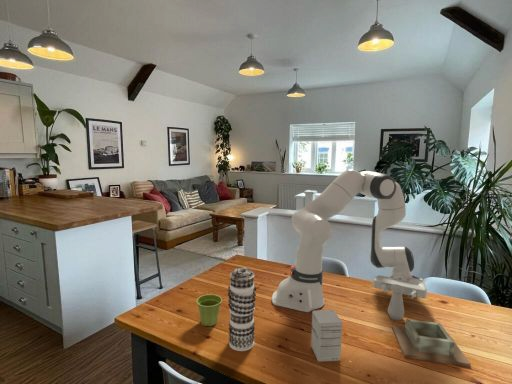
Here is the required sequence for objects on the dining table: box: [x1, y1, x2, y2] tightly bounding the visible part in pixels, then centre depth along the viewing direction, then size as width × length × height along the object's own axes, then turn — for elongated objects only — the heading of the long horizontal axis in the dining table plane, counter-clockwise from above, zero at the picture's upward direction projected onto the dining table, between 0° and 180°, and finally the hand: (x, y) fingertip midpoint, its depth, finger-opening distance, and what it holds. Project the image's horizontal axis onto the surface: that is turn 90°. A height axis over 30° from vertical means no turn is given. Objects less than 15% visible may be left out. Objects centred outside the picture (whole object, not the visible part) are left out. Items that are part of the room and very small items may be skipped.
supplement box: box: [310, 309, 343, 362], centre depth 90 cm, size 7×7×13 cm
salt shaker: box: [387, 284, 405, 321], centre depth 111 cm, size 6×6×13 cm
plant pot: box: [195, 293, 223, 327], centre depth 107 cm, size 9×9×9 cm
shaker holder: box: [391, 318, 472, 368], centre depth 95 cm, size 18×16×6 cm
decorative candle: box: [227, 267, 257, 352], centre depth 94 cm, size 9×9×25 cm
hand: (397, 293), depth 116 cm, fingers open, 8 cm apart
